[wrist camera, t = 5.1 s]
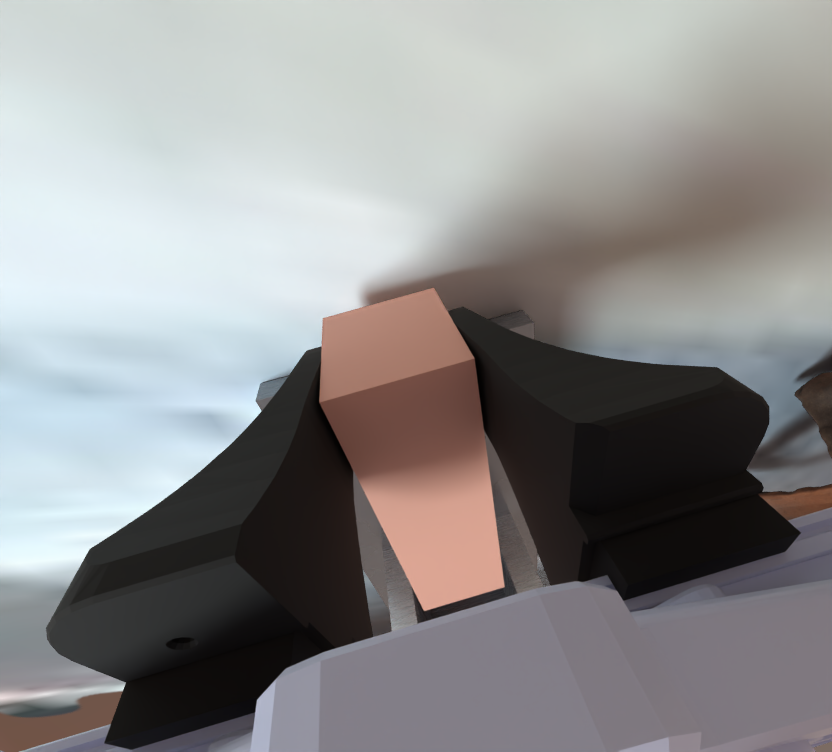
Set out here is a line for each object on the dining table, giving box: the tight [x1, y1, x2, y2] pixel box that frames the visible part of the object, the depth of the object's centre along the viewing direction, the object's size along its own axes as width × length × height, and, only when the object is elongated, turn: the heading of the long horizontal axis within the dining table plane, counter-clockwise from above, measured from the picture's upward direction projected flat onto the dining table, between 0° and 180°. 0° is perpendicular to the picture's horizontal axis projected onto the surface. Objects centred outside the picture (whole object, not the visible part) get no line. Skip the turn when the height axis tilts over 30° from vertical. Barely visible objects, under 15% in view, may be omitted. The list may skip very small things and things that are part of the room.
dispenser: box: [256, 310, 543, 631], centre depth 16 cm, size 19×10×7 cm, turn 12°
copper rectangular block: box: [319, 288, 505, 611], centre depth 13 cm, size 12×4×4 cm, turn 12°
